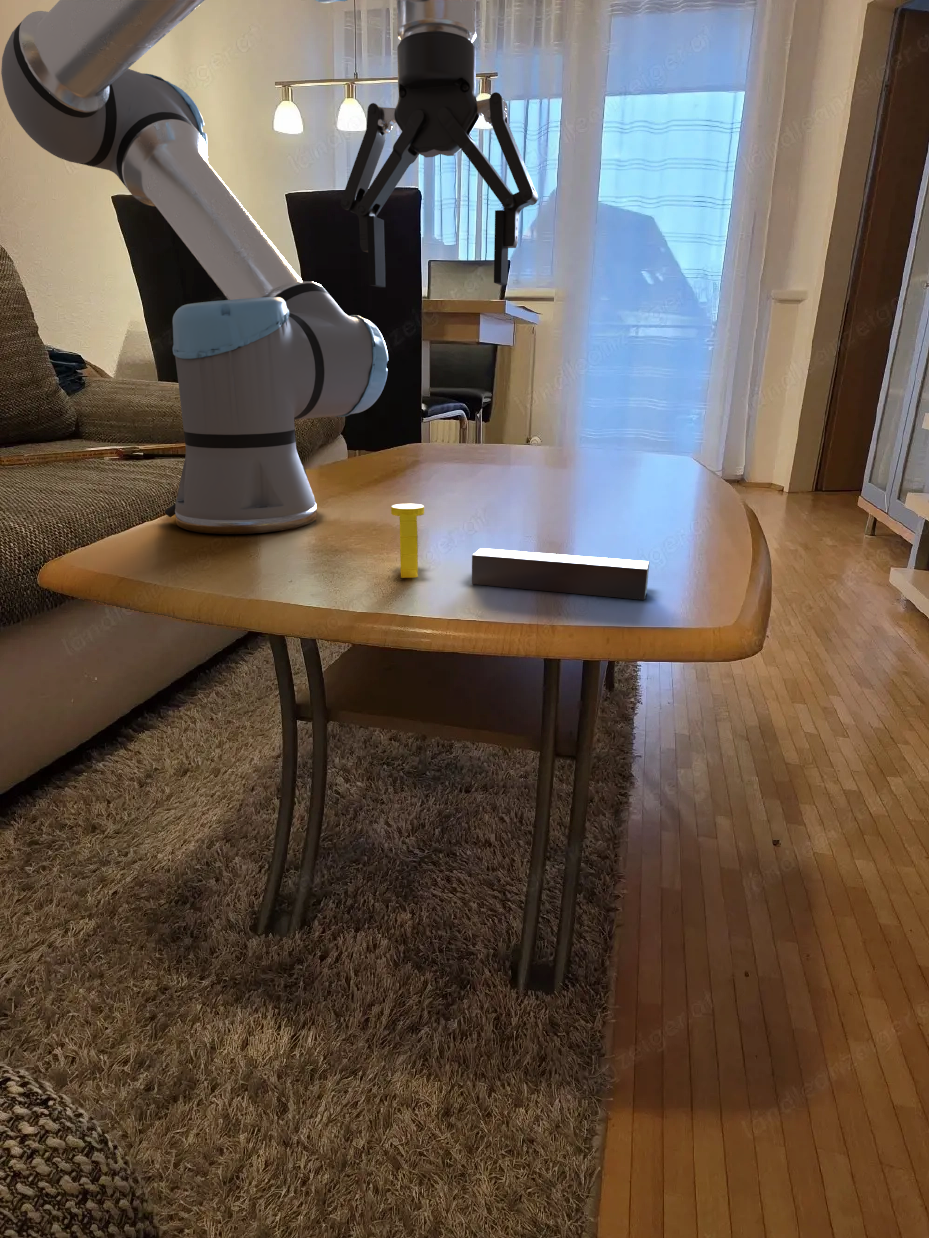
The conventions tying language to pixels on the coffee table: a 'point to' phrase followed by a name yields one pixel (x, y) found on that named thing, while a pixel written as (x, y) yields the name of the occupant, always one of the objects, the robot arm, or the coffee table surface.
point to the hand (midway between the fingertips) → (437, 285)
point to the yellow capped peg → (408, 537)
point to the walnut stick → (561, 573)
